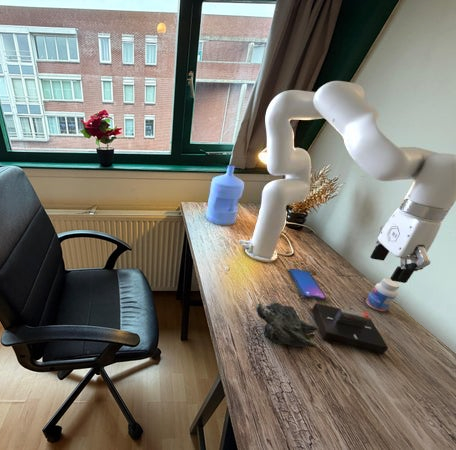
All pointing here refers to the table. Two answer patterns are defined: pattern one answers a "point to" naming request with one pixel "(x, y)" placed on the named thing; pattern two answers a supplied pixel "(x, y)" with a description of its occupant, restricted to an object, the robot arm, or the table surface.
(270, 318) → the mineral specimen
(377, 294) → the pill bottle
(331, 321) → the plate
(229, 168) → the water jug
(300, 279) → the smartphone
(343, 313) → the tap handle
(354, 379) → the table surface
